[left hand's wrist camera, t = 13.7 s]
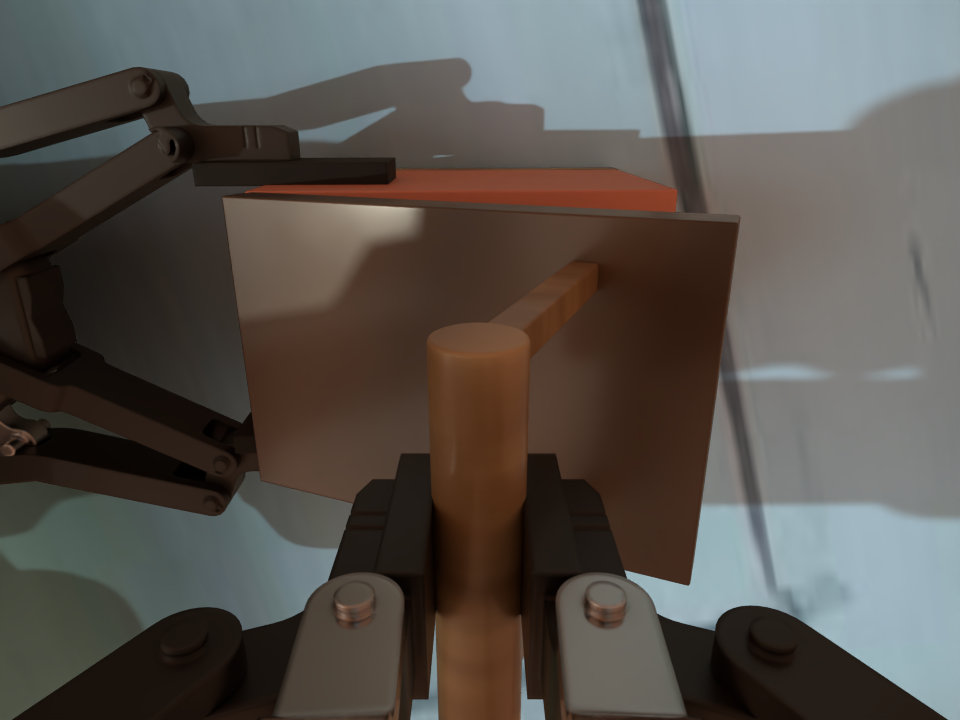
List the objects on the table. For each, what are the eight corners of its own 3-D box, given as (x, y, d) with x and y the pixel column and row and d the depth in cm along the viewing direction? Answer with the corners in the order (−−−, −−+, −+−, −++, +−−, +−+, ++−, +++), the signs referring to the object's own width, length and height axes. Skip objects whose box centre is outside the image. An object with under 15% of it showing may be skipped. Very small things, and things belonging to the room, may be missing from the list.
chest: (612, 167, 29) (678, 189, 20) (599, 364, 33) (651, 458, 24) (312, 168, 29) (243, 191, 20) (330, 366, 32) (277, 462, 23)
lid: (740, 215, 15) (716, 311, 7) (694, 558, 18) (645, 863, 11) (251, 191, 20) (-57, 235, 12) (284, 463, 23) (56, 627, 16)
